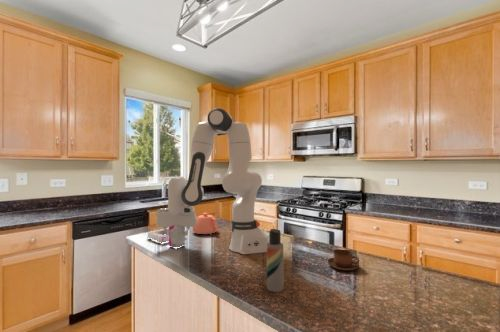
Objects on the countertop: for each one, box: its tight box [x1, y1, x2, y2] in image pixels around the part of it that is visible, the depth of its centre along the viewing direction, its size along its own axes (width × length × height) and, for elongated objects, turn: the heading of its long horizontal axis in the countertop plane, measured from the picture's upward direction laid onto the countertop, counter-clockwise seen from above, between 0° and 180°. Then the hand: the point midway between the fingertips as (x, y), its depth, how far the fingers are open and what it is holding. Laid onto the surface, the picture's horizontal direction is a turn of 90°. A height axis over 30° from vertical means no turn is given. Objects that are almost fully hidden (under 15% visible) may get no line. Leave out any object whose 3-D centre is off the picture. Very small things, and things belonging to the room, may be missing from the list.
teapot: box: [192, 212, 219, 235], centre depth 160 cm, size 22×16×12 cm
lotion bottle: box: [266, 228, 285, 293], centre depth 88 cm, size 6×6×20 cm
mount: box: [147, 227, 187, 243], centre depth 147 cm, size 15×15×5 cm
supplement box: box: [168, 226, 186, 247], centre depth 133 cm, size 6×6×12 cm
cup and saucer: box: [327, 248, 360, 271], centre depth 106 cm, size 12×12×6 cm
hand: (176, 235), depth 133 cm, fingers open, 8 cm apart
